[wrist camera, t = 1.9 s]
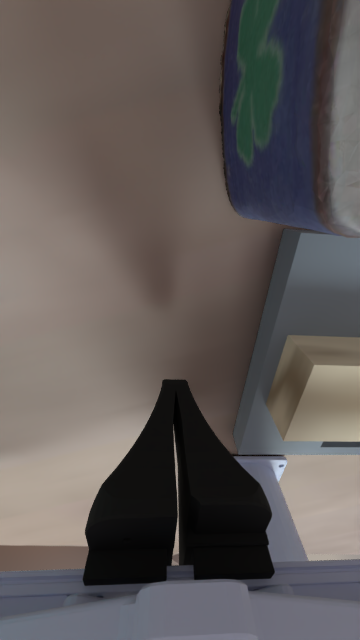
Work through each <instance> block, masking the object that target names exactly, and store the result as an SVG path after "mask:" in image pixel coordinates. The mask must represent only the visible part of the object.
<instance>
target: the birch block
mask: <svg viewBox="0 0 360 640" xmlns="http://www.w3.org/2000/svg"><path fill="white" fill-rule="evenodd" d="M266 406H267V408H268V410H269V412H270V414H271V416H272V418H273V420H274V423H275V425H276V427H277V429H278V431H279V433H280V435H281V437H282V439H283V441H342V442H360V337H332V336H303V335H288V336H287V339H286V342H285V345H284V349H283V352H282V355H281V358H280V361H279V364H278V367H277V371H276V374H275V377H274V380H273V383H272V386H271V389H270V393H269V396H268V399H267V402H266Z"/></svg>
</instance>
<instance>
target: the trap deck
mask: <svg viewBox="0 0 360 640" xmlns="http://www.w3.org/2000/svg"><path fill="white" fill-rule="evenodd" d="M288 335H303V336H332V337H360V238H347V237H344V236H336V235H332V234H328V233H324V232H319V231H312V230H297V229H284V230H283V234H282V238H281V242H280V246H279V250H278V254H277V258H276V262H275V266H274V270H273V274H272V278H271V282H270V286H269V290H268V294H267V298H266V302H265V306H264V310H263V314H262V318H261V322H260V326H259V330H258V334H257V338H256V342H255V346H254V350H253V354H252V358H251V362H250V367H249V371H248V375H247V379H246V383H245V387H244V391H243V395H242V399H241V403H240V407H239V411H238V415H237V419H236V423H235V427H234V431H233V437H234V440H235V444H236V448H237V451H238V455H360V442H342V441H283V439H282V437H281V435H280V433H279V431H278V429H277V427H276V425H275V423H274V420H273V418H272V416H271V414H270V412H269V410H268V408H267V406H266V402H267V399H268V396H269V393H270V389H271V386H272V383H273V380H274V377H275V374H276V371H277V367H278V364H279V361H280V358H281V355H282V352H283V349H284V345H285V342H286V339H287V336H288Z"/></svg>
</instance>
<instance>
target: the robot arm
mask: <svg viewBox="0 0 360 640" xmlns="http://www.w3.org/2000/svg"><path fill="white" fill-rule="evenodd" d="M173 424H174V434H175V443H176V453H177V463H178V501H179V566H171V564H172V555H173V548H174V543H175V534H176V526H177V517H178V512H177V490H176V475H175V457H174V435H173ZM286 464H287V459H286V458H285V457H284V456H232V455H231V454H230V452H229V451H228V450H227V449H226V448H225V447H224V445H223V444H222V443H221V442H220V440H219V439H218V438H217V436H216V435H215V434H214V432H213V431H212V429H211V428H210V426H209V425H208V423H207V422H206V420H205V418H204V417H203V415H202V413H201V411H200V410H199V408H198V406H197V404H196V402H195V400H194V398H193V396H192V393H191V391H190V388H189V386H188V382H187V381H186V380H169V379H165V380H163V382H162V388H161V391H160V394H159V397H158V400H157V402H156V405H155V407H154V410H153V412H152V414H151V416H150V418H149V420H148V422H147V424H146V426H145V427H144V429H143V431H142V432H141V434H140V436H139V437H138V439H137V440H136V442H135V444H134V445H133V446H132V448H131V449H130V451H129V452H128V453H127V455H126V456H125V457H124V459H123V460H122V461H121V463H120V464H119V465H118V467H117V468H116V469H115V470H114V471H113V472H112V474H111V475H110V476H109V477H108V478H107V479H106V480H105V482H104V483H103V484H102V486H101V488H100V490H99V492H98V494H97V496H96V498H95V500H94V502H93V505H92V508H91V510H90V513H89V517H88V521H87V525H86V529H85V535H86V539H87V543H88V546H89V553H88V557H87V561H86V566H85V569H65V570H64V569H63V570H34V571H5V572H0V640H360V559H353V560H324V561H308V558H307V555H306V553H305V550H304V548H303V545H302V542H301V540H300V537H299V535H298V532H297V529H296V527H295V524H294V522H293V519H292V517H291V514H290V511H289V509H288V506H287V504H286V501H285V498H284V496H283V493H282V491H281V488H280V486H279V483H278V482H279V480H280V477H281V475H282V473H283V471H284V468H285V466H286Z"/></svg>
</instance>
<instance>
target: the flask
mask: <svg viewBox="0 0 360 640" xmlns="http://www.w3.org/2000/svg"><path fill="white" fill-rule="evenodd" d="M221 65H222V69H221V75H220V89H219V92H220V106H219V109H220V111H219V113H220V116H221V126H222V132H221V133H222V143H223V144H222V146H223V148H222V149H223V158H224V174H225V178H226V187H227V189H226V190H227V191H228V196H229V200H230V202H231V205H232V206H233V208H234V210H235V211H236V212H237V213H238V214H239V215H240V216H241V217H243V218H248V219H257V220H262V221H268V222H274V223H277V224H284V225H289V226H293V227H299V228H305V229H310V230H315V231H319V232H324V233H328V234H332V235H336V236H344V237H347V238H360V0H231V4H230V7H229V9H228V12H227V17H226V22H225V31H224V44H223V51H222V56H221Z"/></svg>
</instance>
